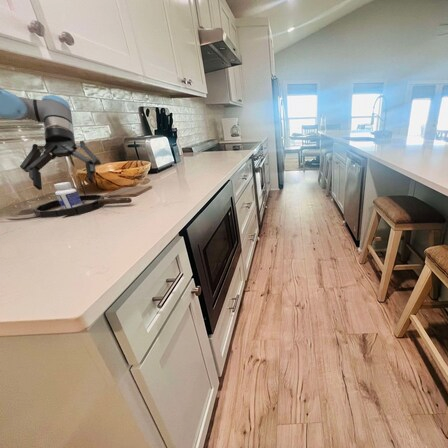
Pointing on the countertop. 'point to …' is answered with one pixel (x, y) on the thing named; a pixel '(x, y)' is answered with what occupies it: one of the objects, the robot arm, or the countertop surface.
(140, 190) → the trivet
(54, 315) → the countertop surface
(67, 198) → the pill bottle
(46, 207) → the pan
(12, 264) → the countertop surface
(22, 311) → the countertop surface
